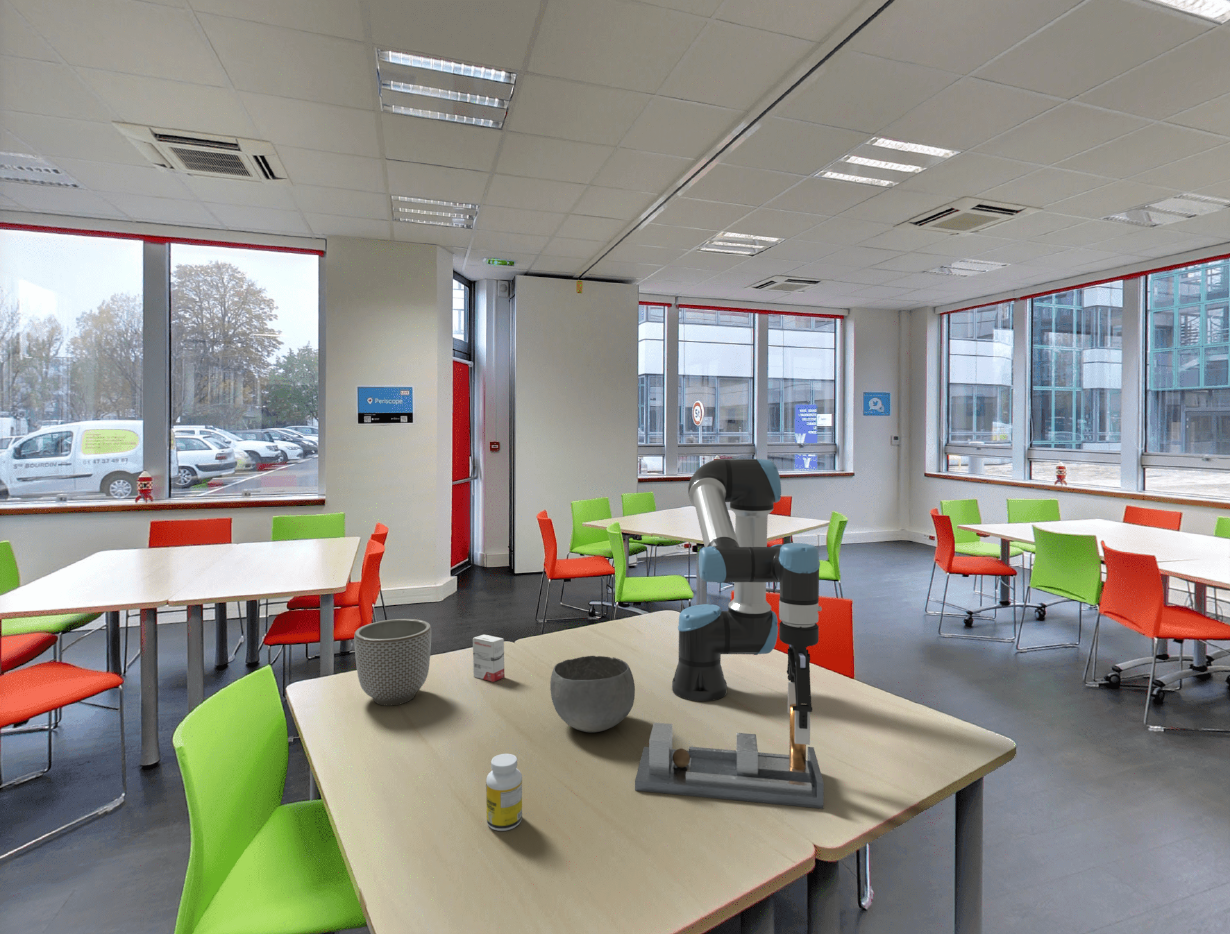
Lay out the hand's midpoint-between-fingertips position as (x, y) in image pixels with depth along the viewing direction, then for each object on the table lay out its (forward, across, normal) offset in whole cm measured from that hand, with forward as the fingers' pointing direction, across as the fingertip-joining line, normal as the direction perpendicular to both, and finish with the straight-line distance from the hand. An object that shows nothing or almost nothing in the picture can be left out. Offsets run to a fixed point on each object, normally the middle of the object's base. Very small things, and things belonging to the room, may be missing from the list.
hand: (798, 727), depth 125 cm
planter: (+12, +27, +103) cm, 107 cm away
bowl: (+12, +20, +46) cm, 52 cm away
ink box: (+12, +46, +83) cm, 96 cm away
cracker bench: (+12, 0, +14) cm, 19 cm away
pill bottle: (+13, -21, +54) cm, 59 cm away
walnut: (+10, 0, +23) cm, 25 cm away
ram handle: (+10, 0, +5) cm, 11 cm away
